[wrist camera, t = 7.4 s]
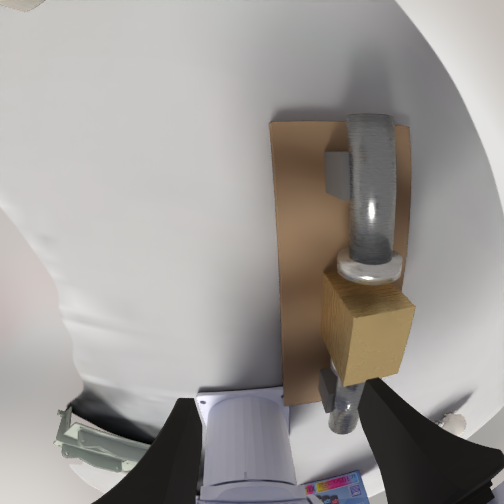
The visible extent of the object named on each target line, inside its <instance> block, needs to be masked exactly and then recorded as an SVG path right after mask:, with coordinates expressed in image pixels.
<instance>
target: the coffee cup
mask: <svg viewBox="0 0 504 504" xmlns="http://www.w3.org/2000/svg"><path fill="white" fill-rule="evenodd" d="M43 1H45V0H0V6H4V7H8V8H12V9H15V10H19V11H24V12H25V11H29V10H31V9H33V8H35V7H37V6H38V5H39V4H41V3H42V2H43Z"/></svg>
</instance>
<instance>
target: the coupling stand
mask: <svg viewBox="0 0 504 504" xmlns="http://www.w3.org/2000/svg"><path fill="white" fill-rule="evenodd" d="M269 128H270V140H271V153H272V167H273V180H274V195H275V211H276V227H277V245H278V264H279V286H280V310H281V339H282V377H283V389H284V395H283V397H284V407H285V406H293V405H300V404H306V403H312V402H318V401H322V403H323V406H324V409H325V412H326V413H330V412H331V413H330V418H329V423H328V424H329V428H330V429H331V430H332V431H333V432H334V433H337V434H348V433H350V432H352V431H353V430H354V429H355V427H356V425H357V422H358V419H359V414H358V410H357V407H358V404H359V401H360V398H361V395H362V392H363V388H364V385H365V382H363V383H358V384H354V385H349V386H345V387H343V385H342V383H341V380H340V378H339V375H338V373H337V371H336V368H335V366H334V364H333V361H332V359H331V356H330V354H329V352H328V349H327V347H326V345H325V342H324V340H323V338H322V335H321V333H320V330H321V310H322V283H323V271H332V270H337V271H338V273H339V274H340V275H341V276H342V277H343V278H345V279H347V280H349V281H352V282H355V283H359V284H365V285H383V284H388V283H392V284H393V285H394V286H395V287H396V288H398V289H399V290H400V291H402V284H403V278H404V271H405V263H406V254H407V245H408V234H409V221H410V202H411V146H410V128H409V127H407V126H398V125H394V118H393V117H392V116H389V115H382V114H352V115H347V116H346V122H340V121H285V122H271V123H270V124H269ZM380 379H382V378H380Z"/></svg>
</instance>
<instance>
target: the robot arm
mask: <svg viewBox="0 0 504 504" xmlns="http://www.w3.org/2000/svg"><path fill="white" fill-rule="evenodd" d="M283 395H284V389H283V386H282V387H274V388H264V389H254V390H242V391H226V392H201V393H198V394H197V396H196V399H197V402H198V405H199V408H200V411H201V414H202V416H203V419H204V422H205V425H206V427H207V431H206V446H205V462H204V479H203V486H201V491H200V500H199V496H196V487H197V479H198V472H199V465H200V457H201V450H202V423H201V420H200V417H199V414H198V411H197V407H196V404H195V401H194V398H179V399H177V401H176V403H175V406H174V408H173V410H172V411H171V413H170V415H169V417H168V419H167V421H166V422H165V424H164V426H163V427H162V429H161V431H160V432H159V434H158V436H157V437H156V439H155V440H154V442H153V443H152V445H151V446H150V447H149V449H148V450H147V452H146V453H145V454H144V456H143V457H142V458H141V459H140V461H139V462H138V463H137V464H136V465H135V467H134V468H133V469H132V470H131V471H130V472H129V473H128V474H127V475H126V476H125V477H124V478H123V479H122V480H121V481H120V482H119V483H118V484H117V485H116V486H115V487H113V488H112V489H111V490H110V491H108V492H107V493H106V494H105V495H103V496H102V497H101V498H99V499H98V500H96V501H95V502H93V503H92V504H324V503H323V502H322V501H321V500H319V499H318V498H317V497H316V496H315V495H312V494H309V495H306V490H305V485H297V481H296V475H295V469H294V464H293V458H292V452H291V447H290V441H289V406H285V407H284V397H283ZM357 410H358V414H359V417H360V421H361V425H362V428H363V430H364V433H365V435H366V437H367V440H368V442H369V444H370V447H371V449H372V451H373V454H374V456H375V459H376V461H377V463H378V466H379V469H380V472H381V475H382V479H383V483H384V487H385V491H386V496H387V501H388V504H504V481H503V482H502V483H501V484H499V485H498V486H497V487H496V488H494V489H493V490H492V491H491V489H490V487H491V486H492V482H491V479H492V478H493V477H494V476H496V475H497V474H498V473H499V472H500V471H501V470H502V469H503V468H504V455H503V453H502V451H501V450H499V449H494V448H489V447H485V446H482V445H479V444H475V443H472V442H470V441H467V440H465V439H463V438H460V437H458V436H456V435H454V434H452V433H450V432H448V431H446V430H444V429H443V428H441V427H439V426H438V425H436V424H434V423H433V422H431V421H430V420H428V419H427V418H426V417H424V416H423V415H422V414H420V413H419V412H418V411H416V410H415V409H414V408H413V407H412V406H410V405H409V404H408V403H407V402H406V401H404V400H403V399H402V398H401V397H400V396H399V395H398V394H397V393H395V392H394V391H393V390H392V389H391V388H390V387H389V386H388V385H387V384H386V383H385V382H383V381H382V380H381V379H380V378H379V377H376V378H372V379H368V380H366V381H365V385H364V388H363V392H362V395H361V398H360V401H359V404H358V407H357Z"/></svg>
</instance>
